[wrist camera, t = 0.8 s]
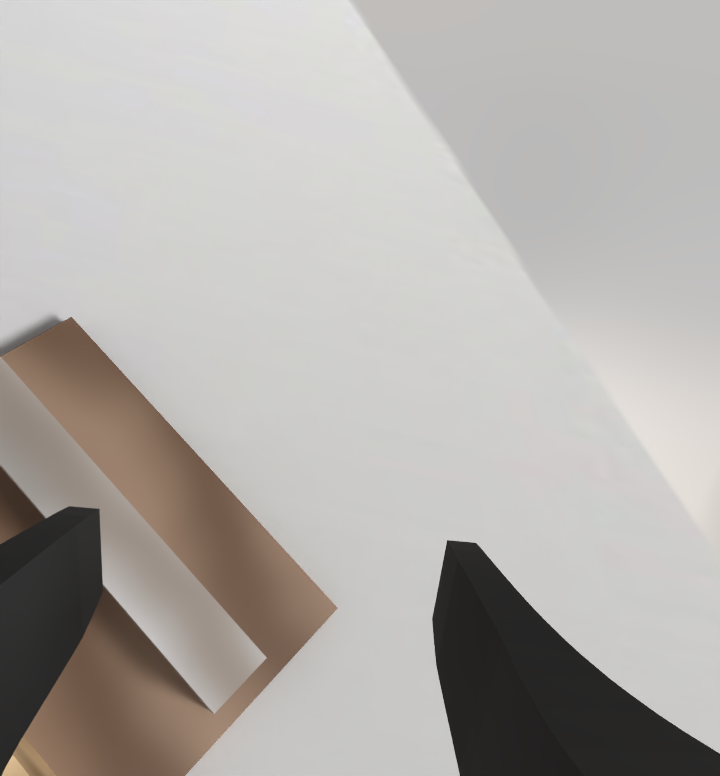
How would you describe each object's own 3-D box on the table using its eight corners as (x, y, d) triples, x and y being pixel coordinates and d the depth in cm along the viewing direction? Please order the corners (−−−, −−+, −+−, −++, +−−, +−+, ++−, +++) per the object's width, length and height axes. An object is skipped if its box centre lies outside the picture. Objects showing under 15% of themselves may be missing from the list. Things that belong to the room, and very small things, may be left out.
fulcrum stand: (-20, 994, 19) (-63, 1067, 15) (-340, 564, 21) (-440, 541, 17) (331, 610, 26) (357, 600, 23) (74, 327, 29) (61, 279, 25)
